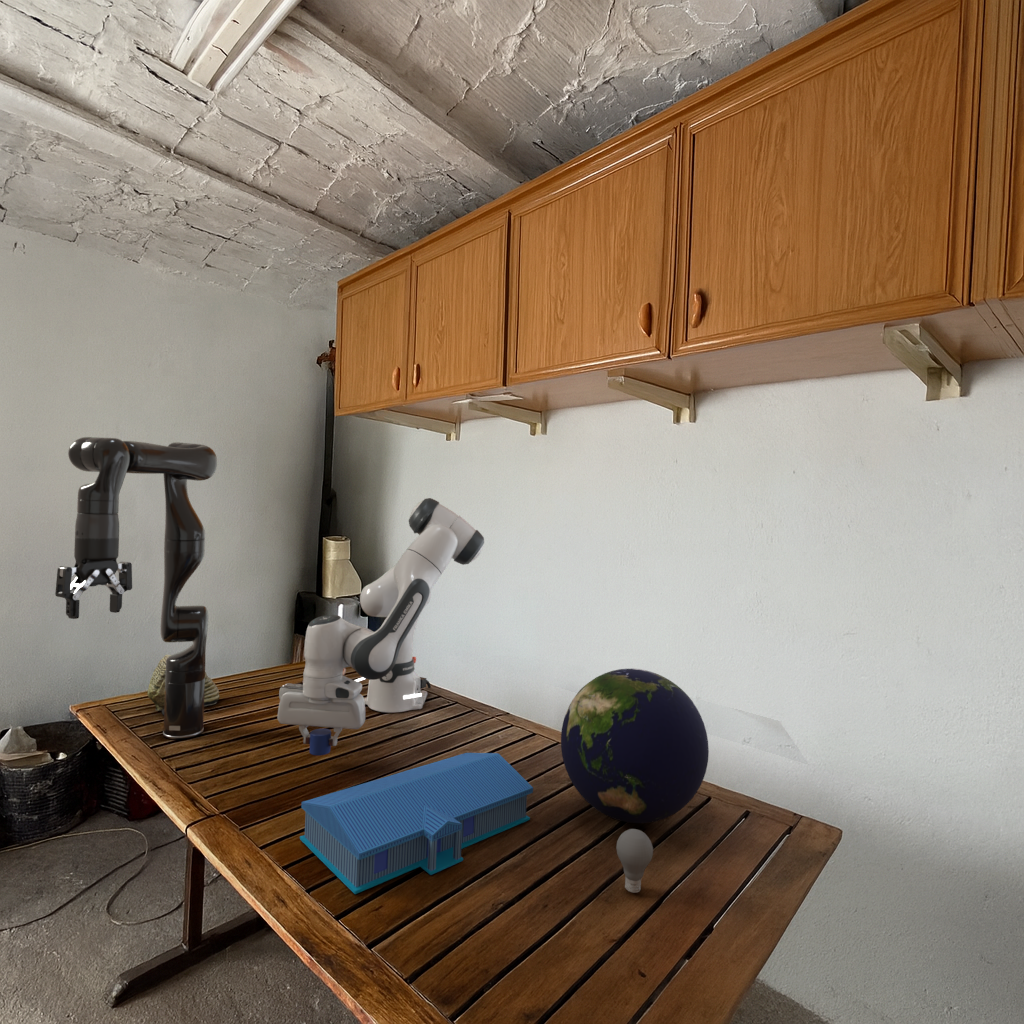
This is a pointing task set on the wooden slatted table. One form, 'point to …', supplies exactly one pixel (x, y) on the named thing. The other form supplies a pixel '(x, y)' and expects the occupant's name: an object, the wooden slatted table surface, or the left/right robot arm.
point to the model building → (414, 818)
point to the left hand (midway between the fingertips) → (94, 615)
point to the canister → (320, 741)
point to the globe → (634, 745)
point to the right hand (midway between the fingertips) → (320, 744)
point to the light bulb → (634, 857)
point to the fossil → (158, 687)
